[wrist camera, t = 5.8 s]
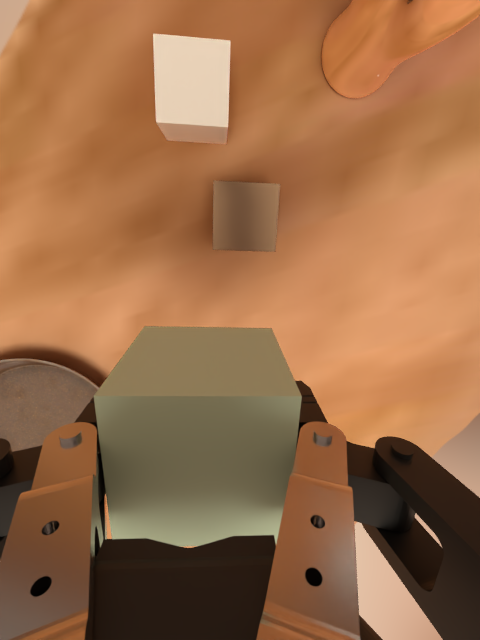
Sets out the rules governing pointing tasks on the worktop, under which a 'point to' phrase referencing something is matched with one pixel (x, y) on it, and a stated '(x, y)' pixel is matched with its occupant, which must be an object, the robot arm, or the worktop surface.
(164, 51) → the white block
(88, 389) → the plant saucer
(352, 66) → the beer glass
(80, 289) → the worktop surface
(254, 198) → the walnut block
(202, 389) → the green block
